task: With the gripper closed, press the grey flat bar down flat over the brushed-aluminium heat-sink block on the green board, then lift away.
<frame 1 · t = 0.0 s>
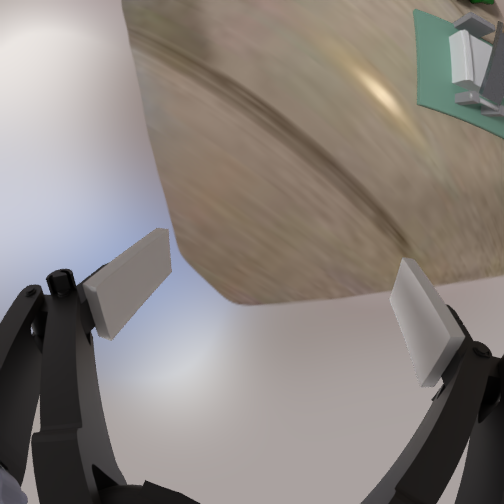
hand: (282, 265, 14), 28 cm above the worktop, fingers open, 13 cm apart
grey flat bar: (502, 63, 16), point 11 cm above the worktop, hinge at 35.0°
board: (466, 73, 26), on the worktop
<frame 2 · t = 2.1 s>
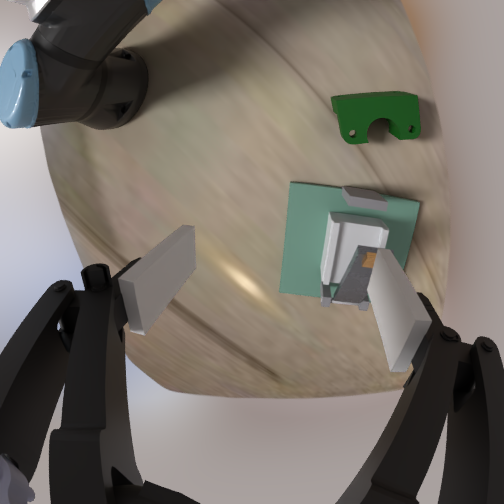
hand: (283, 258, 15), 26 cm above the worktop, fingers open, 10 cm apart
grey flat bar: (360, 280, 31), point 11 cm above the worktop, hinge at 35.0°
clamp: (371, 116, 33), on the worktop
board: (348, 246, 41), on the worktop
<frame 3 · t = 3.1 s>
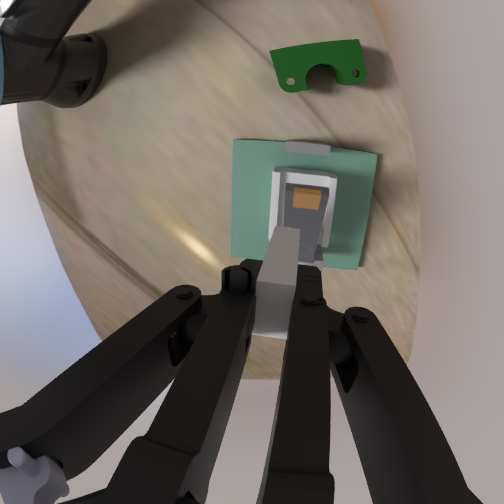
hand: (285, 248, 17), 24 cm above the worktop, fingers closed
grey flat bar: (301, 230, 29), point 11 cm above the worktop, hinge at 35.0°
clamp: (316, 69, 31), on the worktop
board: (301, 205, 39), on the worktop
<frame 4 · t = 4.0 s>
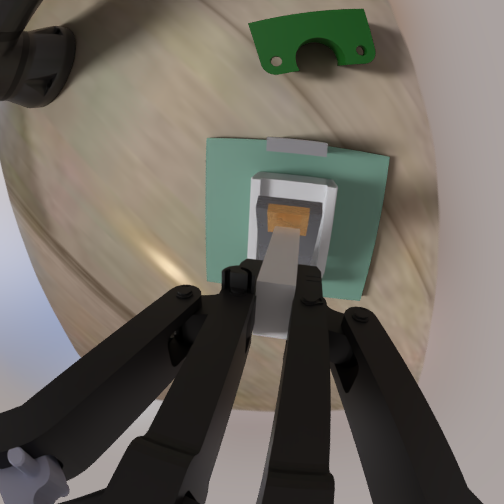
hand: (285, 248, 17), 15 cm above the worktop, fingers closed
grey flat bar: (285, 259, 21), point 11 cm above the worktop, hinge at 35.0°, touching gripper
clamp: (312, 49, 23), on the worktop
board: (291, 220, 31), on the worktop
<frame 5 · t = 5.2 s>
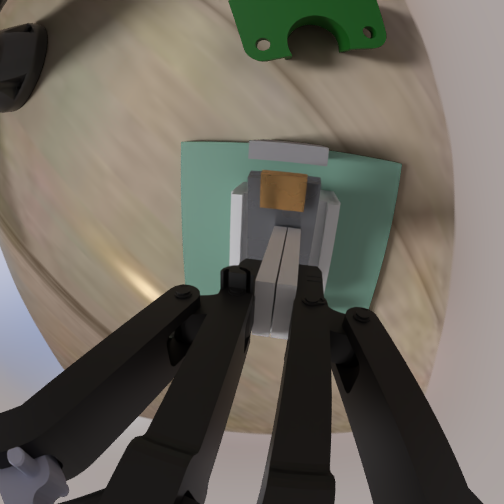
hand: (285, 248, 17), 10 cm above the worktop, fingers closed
grey flat bar: (277, 265, 18), point 9 cm above the worktop, hinge at 14.4°, touching gripper
clamp: (308, 33, 18), on the worktop
board: (283, 239, 27), on the worktop
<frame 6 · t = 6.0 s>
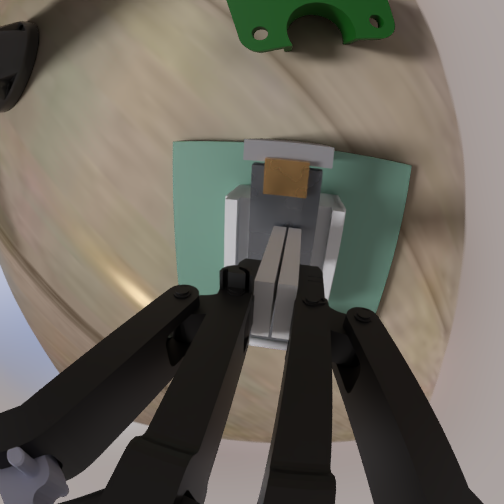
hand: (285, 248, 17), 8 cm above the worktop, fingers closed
grey flat bar: (278, 263, 18), point 7 cm above the worktop, hinge at 3.1°, touching board, gripper
clamp: (309, 24, 16), on the worktop
board: (283, 246, 25), on the worktop
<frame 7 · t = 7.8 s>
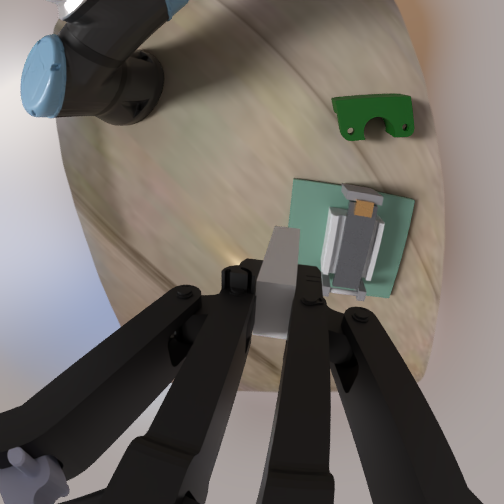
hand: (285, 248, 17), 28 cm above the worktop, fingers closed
grey flat bar: (355, 246, 36), point 7 cm above the worktop, hinge at 3.1°, touching board
clamp: (368, 116, 35), on the worktop
board: (347, 241, 43), on the worktop
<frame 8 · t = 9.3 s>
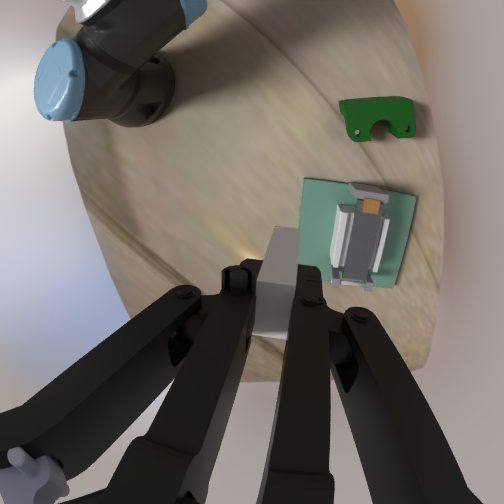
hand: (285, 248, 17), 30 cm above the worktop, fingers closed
grey flat bar: (363, 241, 39), point 7 cm above the worktop, hinge at 3.1°, touching board
clamp: (373, 118, 38), on the worktop
board: (353, 235, 46), on the worktop
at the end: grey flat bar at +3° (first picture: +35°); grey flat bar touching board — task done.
